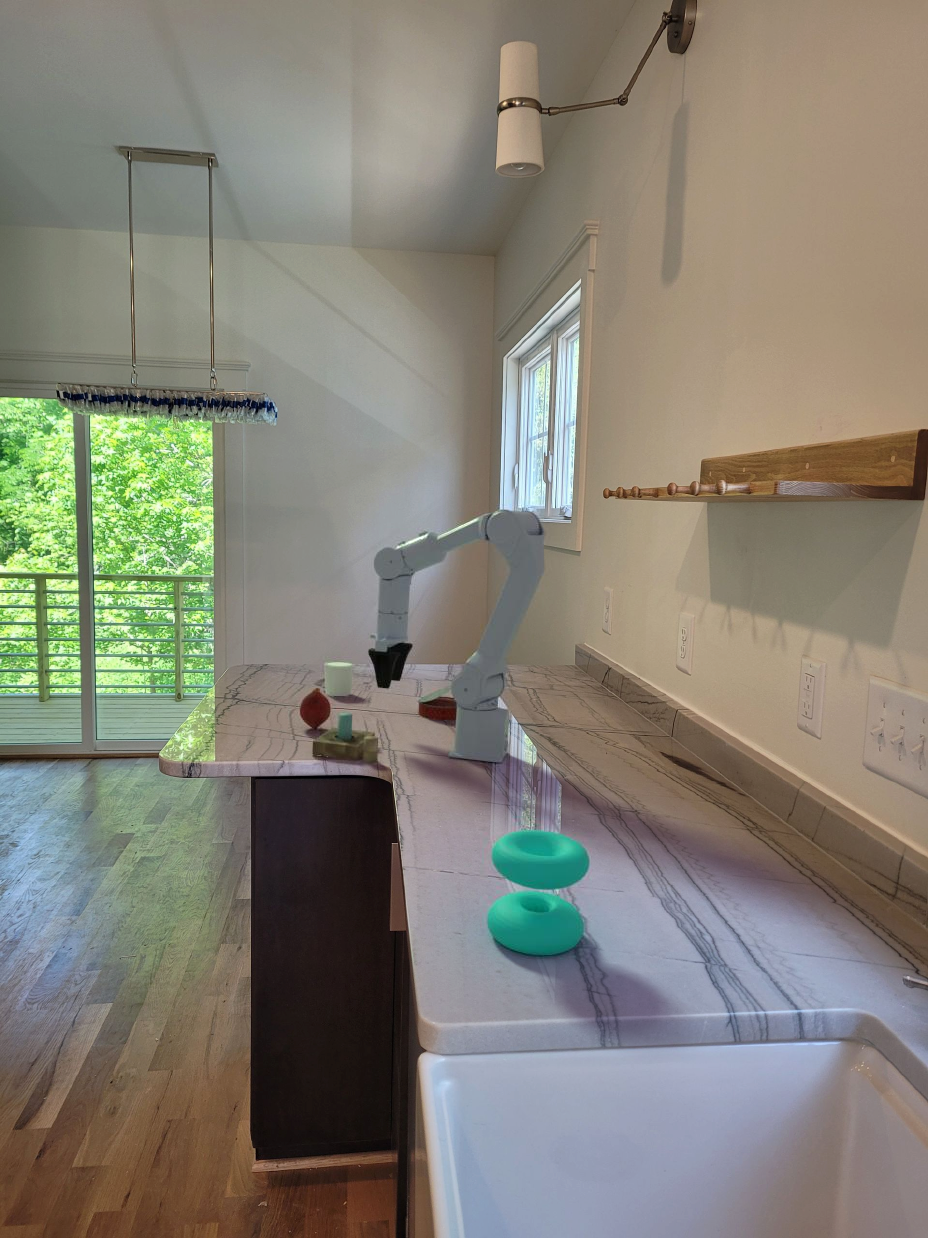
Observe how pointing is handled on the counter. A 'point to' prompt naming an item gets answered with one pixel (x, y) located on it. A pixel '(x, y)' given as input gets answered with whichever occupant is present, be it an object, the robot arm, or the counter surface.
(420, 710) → the canned food
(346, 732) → the long dowel
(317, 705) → the onion
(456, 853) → the counter surface
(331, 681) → the white short cylinder
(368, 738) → the short dowel
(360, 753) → the board
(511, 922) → the donuts
